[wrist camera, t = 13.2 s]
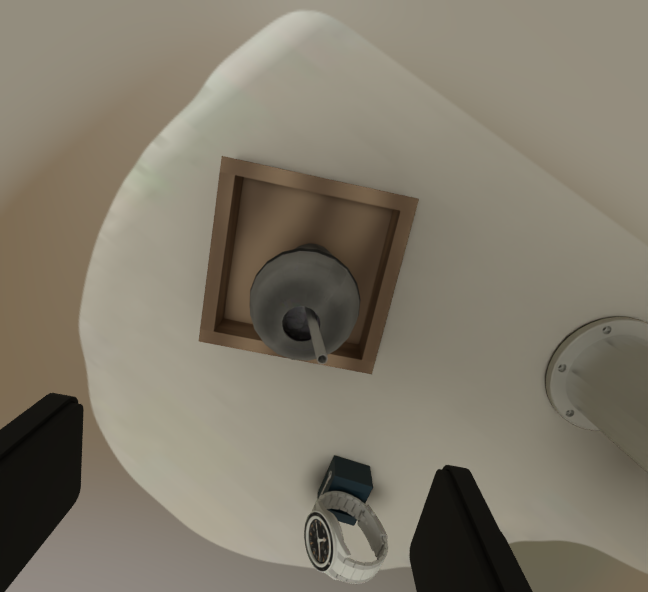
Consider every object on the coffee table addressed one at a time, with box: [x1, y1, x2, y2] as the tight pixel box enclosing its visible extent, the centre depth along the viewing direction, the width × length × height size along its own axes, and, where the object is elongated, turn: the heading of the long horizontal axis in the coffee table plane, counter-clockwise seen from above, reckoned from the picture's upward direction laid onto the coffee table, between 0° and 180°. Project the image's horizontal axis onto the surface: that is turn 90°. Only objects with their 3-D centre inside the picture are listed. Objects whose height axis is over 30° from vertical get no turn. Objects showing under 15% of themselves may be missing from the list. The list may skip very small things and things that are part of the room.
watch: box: [304, 455, 388, 584], centre depth 39 cm, size 6×8×11 cm
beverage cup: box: [250, 243, 361, 364], centre depth 26 cm, size 7×7×20 cm
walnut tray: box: [199, 156, 419, 374], centre depth 35 cm, size 16×16×4 cm
